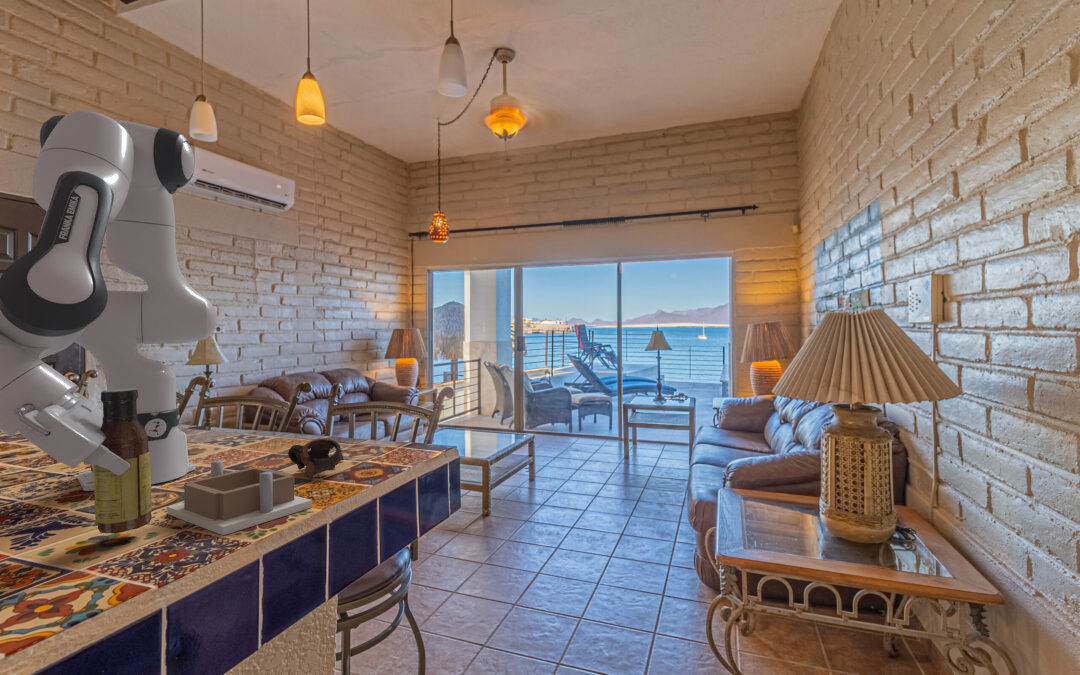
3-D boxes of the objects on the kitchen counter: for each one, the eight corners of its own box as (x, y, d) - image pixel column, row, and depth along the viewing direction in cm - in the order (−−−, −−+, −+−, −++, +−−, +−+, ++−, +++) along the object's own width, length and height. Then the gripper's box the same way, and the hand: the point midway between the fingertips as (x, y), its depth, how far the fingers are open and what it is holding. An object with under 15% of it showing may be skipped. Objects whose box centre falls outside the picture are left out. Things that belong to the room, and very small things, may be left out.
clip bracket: (167, 513, 81) (167, 470, 81) (254, 491, 93) (253, 453, 93) (223, 535, 72) (222, 485, 72) (312, 507, 83) (311, 464, 84)
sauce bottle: (134, 517, 75) (134, 386, 75) (162, 522, 73) (162, 387, 73) (82, 533, 69) (81, 390, 69) (111, 539, 67) (110, 391, 67)
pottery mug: (349, 468, 112) (351, 439, 108) (330, 498, 103) (331, 468, 100) (297, 455, 111) (297, 426, 108) (273, 484, 103) (273, 454, 99)
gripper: (36, 390, 58) (142, 461, 64) (71, 379, 75) (153, 436, 81) (-19, 432, 56) (96, 502, 61) (30, 411, 73) (117, 467, 78)
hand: (129, 464), depth 71 cm, fingers closed on sauce bottle, 6 cm apart
